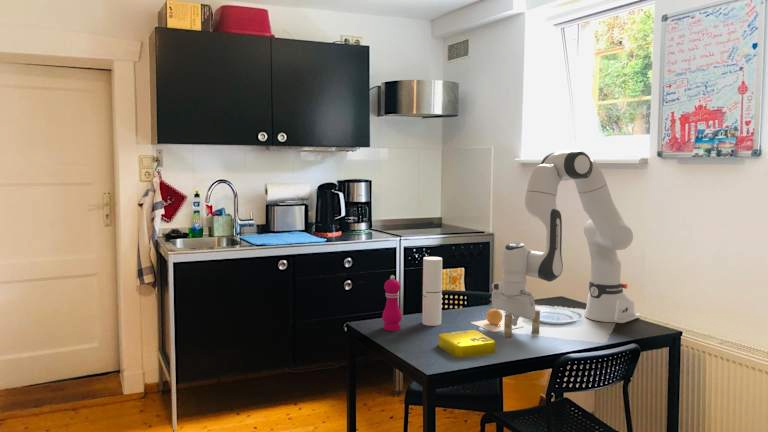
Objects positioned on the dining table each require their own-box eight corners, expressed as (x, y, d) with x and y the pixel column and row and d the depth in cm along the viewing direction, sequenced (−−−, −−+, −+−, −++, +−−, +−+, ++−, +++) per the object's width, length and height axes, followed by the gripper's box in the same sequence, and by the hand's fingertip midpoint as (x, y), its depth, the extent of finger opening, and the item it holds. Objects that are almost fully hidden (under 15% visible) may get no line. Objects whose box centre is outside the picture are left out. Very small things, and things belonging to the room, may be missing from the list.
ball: (502, 328, 252) (494, 318, 257) (507, 315, 250) (499, 305, 254) (489, 328, 250) (481, 318, 254) (494, 315, 247) (486, 305, 252)
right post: (535, 330, 245) (536, 309, 244) (540, 332, 242) (541, 311, 241) (530, 331, 243) (531, 310, 242) (535, 333, 241) (536, 311, 240)
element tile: (474, 341, 233) (475, 327, 233) (497, 354, 219) (497, 340, 219) (436, 346, 228) (436, 332, 227) (456, 359, 214) (457, 345, 213)
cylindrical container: (435, 326, 249) (436, 260, 246) (418, 323, 253) (419, 258, 250) (444, 322, 255) (445, 257, 252) (427, 319, 259) (428, 255, 256)
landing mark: (499, 318, 261) (499, 317, 261) (523, 327, 249) (523, 326, 249) (470, 323, 254) (470, 322, 254) (494, 332, 242) (494, 331, 242)
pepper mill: (389, 332, 241) (390, 278, 239) (378, 327, 247) (378, 274, 245) (405, 329, 245) (406, 275, 243) (393, 324, 251) (394, 272, 249)
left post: (508, 335, 238) (508, 313, 237) (513, 337, 236) (513, 315, 235) (502, 336, 237) (503, 314, 236) (507, 338, 235) (507, 316, 234)
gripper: (540, 292, 235) (538, 331, 236) (502, 281, 252) (501, 317, 254) (526, 294, 232) (525, 333, 233) (489, 283, 249) (488, 319, 251)
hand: (512, 324), depth 244 cm, fingers closed
